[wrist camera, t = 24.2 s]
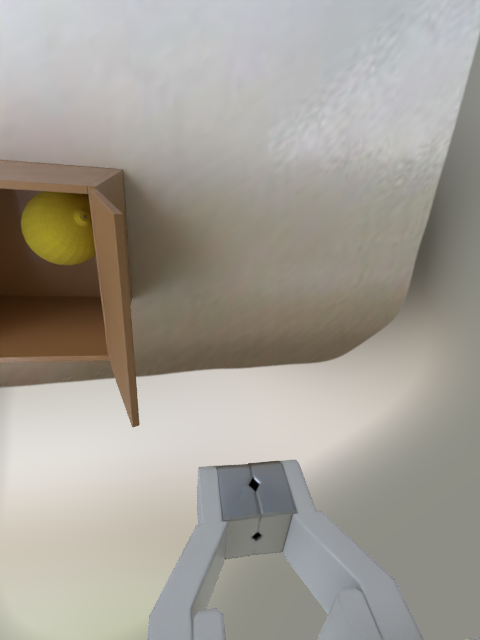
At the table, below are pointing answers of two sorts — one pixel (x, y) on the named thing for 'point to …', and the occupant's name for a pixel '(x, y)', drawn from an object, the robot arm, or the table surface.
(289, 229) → the table surface
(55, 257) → the lemon
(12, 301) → the carton
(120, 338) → the flap
